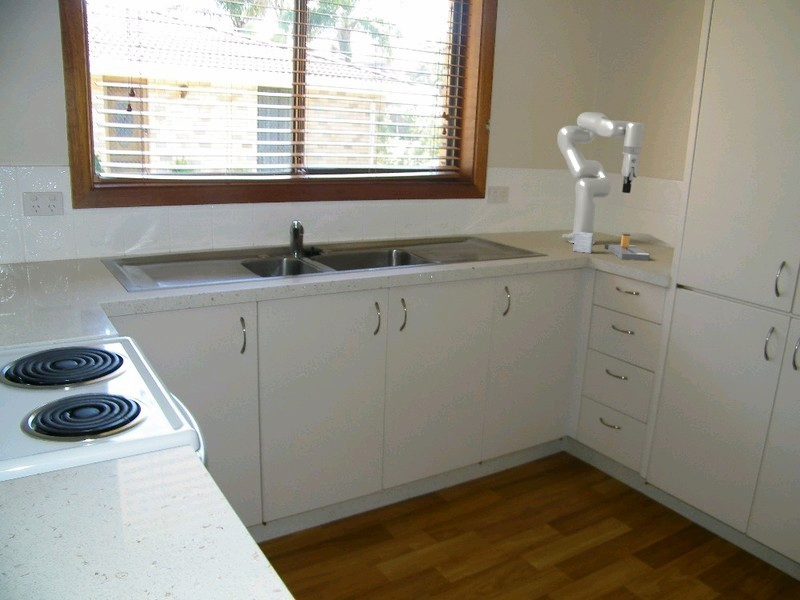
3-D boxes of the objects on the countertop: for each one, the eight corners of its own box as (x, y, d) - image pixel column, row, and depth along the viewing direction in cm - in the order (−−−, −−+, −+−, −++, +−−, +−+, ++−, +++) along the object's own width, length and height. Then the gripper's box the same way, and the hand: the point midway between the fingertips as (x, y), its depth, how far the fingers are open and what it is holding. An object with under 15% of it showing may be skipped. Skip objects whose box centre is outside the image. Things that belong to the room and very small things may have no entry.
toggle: (621, 251, 323) (623, 234, 321) (620, 250, 325) (622, 233, 323) (628, 251, 323) (630, 234, 321) (626, 250, 325) (628, 233, 323)
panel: (621, 259, 306) (622, 253, 306) (608, 249, 330) (608, 244, 329) (649, 260, 306) (650, 254, 305) (633, 250, 329) (634, 245, 329)
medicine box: (592, 252, 321) (594, 233, 319) (590, 253, 317) (592, 234, 315) (574, 250, 324) (576, 231, 322) (572, 251, 320) (574, 232, 318)
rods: (606, 249, 330) (606, 245, 330) (604, 247, 334) (604, 244, 334) (636, 250, 330) (636, 247, 330) (633, 249, 334) (634, 245, 333)
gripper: (645, 152, 303) (639, 195, 308) (635, 150, 317) (629, 191, 322) (627, 151, 303) (622, 194, 308) (618, 149, 318) (613, 190, 323)
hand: (626, 192), depth 315 cm, fingers closed
